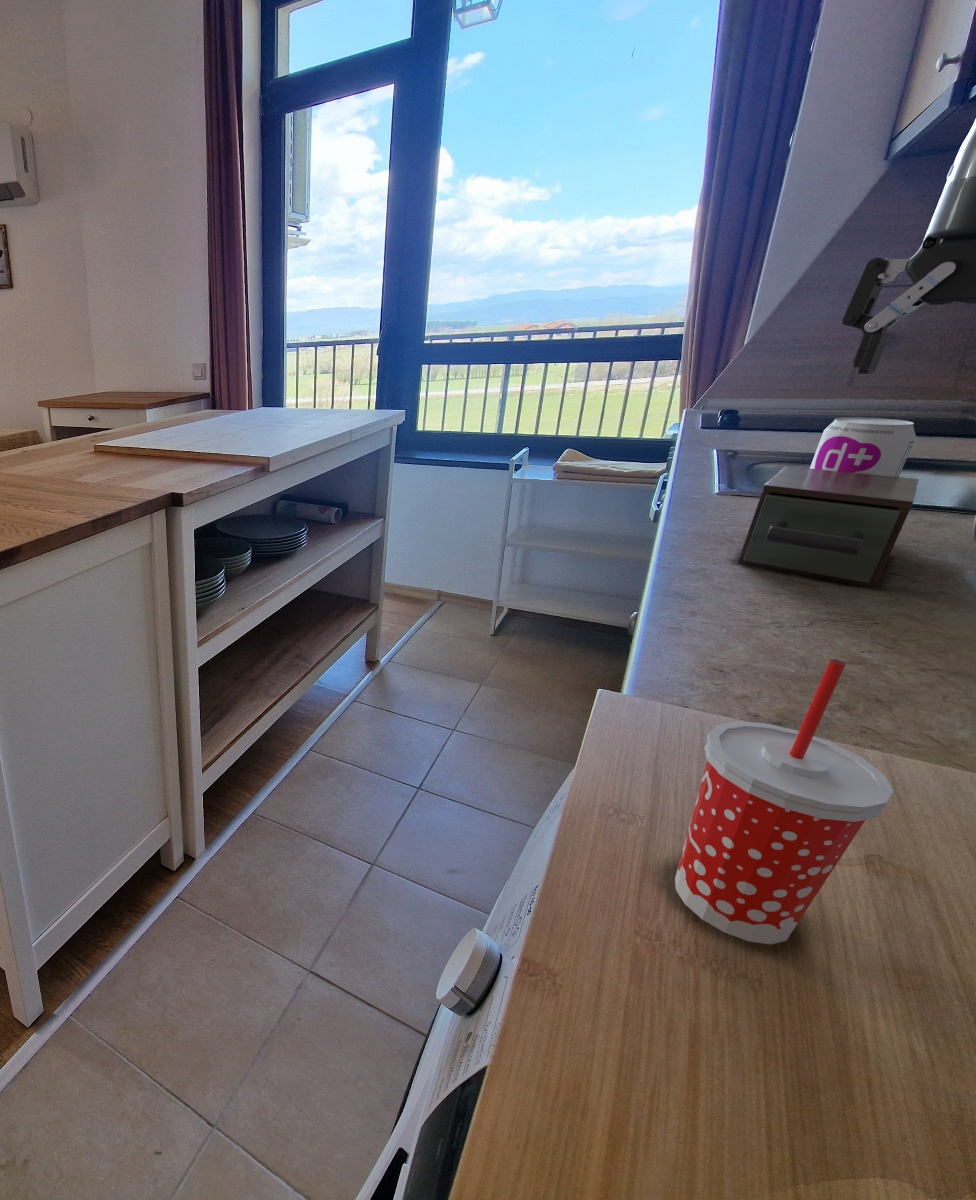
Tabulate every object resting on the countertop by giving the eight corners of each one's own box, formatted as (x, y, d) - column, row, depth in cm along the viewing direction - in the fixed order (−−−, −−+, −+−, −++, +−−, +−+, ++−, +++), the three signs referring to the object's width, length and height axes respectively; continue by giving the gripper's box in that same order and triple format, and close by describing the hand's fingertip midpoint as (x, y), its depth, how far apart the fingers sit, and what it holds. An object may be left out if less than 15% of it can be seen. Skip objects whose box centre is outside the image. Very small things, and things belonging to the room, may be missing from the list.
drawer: (864, 598, 63) (896, 524, 60) (732, 572, 70) (755, 505, 67) (878, 554, 75) (906, 489, 72) (764, 536, 82) (785, 477, 79)
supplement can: (843, 547, 80) (893, 427, 74) (771, 529, 87) (811, 419, 81) (887, 540, 82) (939, 423, 76) (813, 524, 89) (855, 415, 83)
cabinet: (874, 588, 68) (913, 501, 64) (737, 563, 76) (764, 484, 72) (884, 556, 76) (918, 478, 73) (760, 537, 84) (785, 466, 81)
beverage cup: (702, 844, 35) (790, 620, 30) (841, 931, 30) (980, 679, 25) (629, 879, 33) (710, 646, 28) (766, 979, 28) (900, 716, 22)
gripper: (1170, 157, 49) (1059, 376, 55) (908, 192, 60) (841, 370, 67) (1155, 145, 45) (1038, 381, 52) (880, 185, 57) (812, 374, 63)
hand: (927, 375), depth 59 cm, fingers open, 8 cm apart
